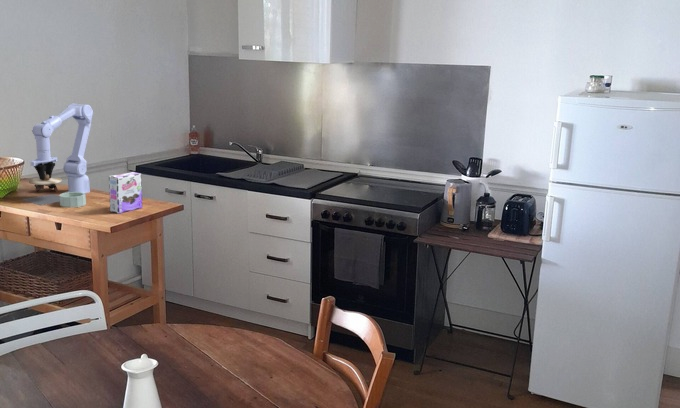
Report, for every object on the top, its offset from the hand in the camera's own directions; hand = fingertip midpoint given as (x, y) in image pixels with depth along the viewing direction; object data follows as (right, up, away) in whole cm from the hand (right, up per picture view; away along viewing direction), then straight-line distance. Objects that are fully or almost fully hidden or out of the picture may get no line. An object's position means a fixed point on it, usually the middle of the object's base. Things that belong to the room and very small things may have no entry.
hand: (45, 178), depth 296 cm
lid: (0, -1, 0) cm, 1 cm away
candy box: (+40, -15, -8) cm, 44 cm away
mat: (0, -10, +2) cm, 10 cm away
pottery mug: (-8, -6, +20) cm, 22 cm away
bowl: (+14, -12, -4) cm, 19 cm away
